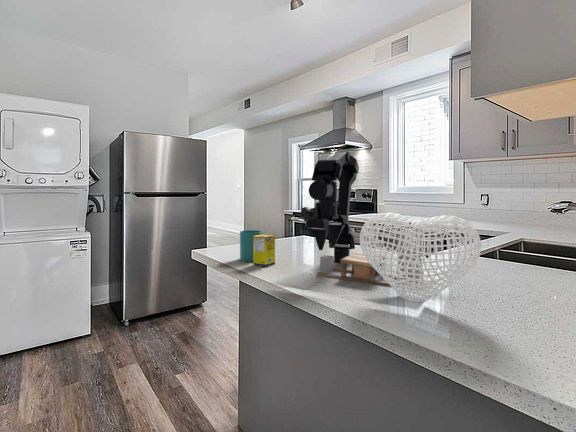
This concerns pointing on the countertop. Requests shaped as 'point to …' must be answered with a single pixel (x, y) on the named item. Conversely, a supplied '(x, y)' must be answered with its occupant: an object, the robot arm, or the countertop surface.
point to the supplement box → (264, 250)
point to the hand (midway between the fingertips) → (327, 247)
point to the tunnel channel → (354, 260)
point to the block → (362, 271)
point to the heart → (440, 219)
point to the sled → (328, 266)
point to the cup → (247, 244)
